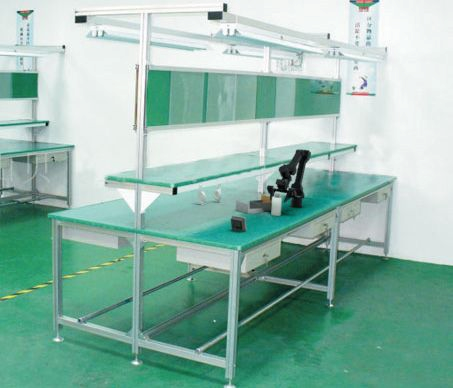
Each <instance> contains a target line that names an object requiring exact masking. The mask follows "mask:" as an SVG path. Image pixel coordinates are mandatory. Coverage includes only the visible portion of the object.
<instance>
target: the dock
mask: <svg viewBox="0 0 453 388" xmlns="http://www.w3.org/2000/svg"><path fill="white" fill-rule="evenodd" d="M235 201H236V202H235V211H239V212H241V213H245V214H249V215H250V214H260V213H265V211H262V209H263V208H255V209H249V208H250V204H249V202H244V201H242V200H237V199H236V200H235Z"/></svg>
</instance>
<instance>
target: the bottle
mask: <svg viewBox="0 0 453 388" xmlns="http://www.w3.org/2000/svg"><path fill="white" fill-rule="evenodd" d="M282 198H283V197H282V196H280V194H279V193H274V196H273V197H272V209H271V210H270V212H271V213H270V214H271V216H278V217H279V216H281V214H282Z"/></svg>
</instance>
